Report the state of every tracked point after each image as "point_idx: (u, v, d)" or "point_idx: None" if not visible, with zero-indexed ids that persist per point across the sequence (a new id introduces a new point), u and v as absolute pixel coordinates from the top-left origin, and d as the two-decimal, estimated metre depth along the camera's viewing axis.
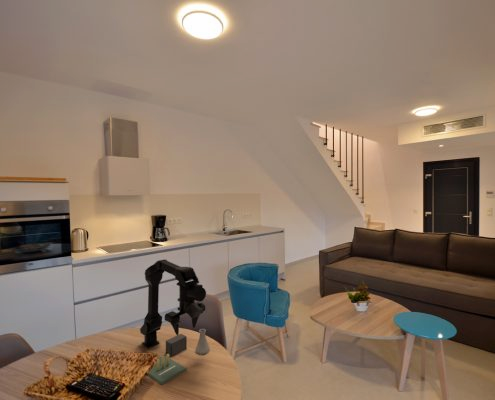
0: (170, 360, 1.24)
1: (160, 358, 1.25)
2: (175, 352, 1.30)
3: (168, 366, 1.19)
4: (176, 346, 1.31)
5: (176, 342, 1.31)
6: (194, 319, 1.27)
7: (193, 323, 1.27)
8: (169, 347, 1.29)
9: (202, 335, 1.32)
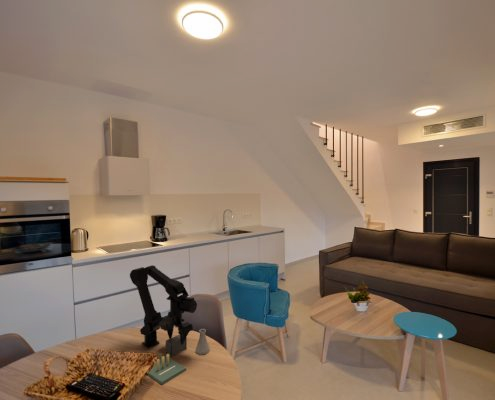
0: (170, 360, 1.24)
1: (160, 358, 1.25)
2: (175, 352, 1.30)
3: (168, 366, 1.19)
4: (176, 346, 1.31)
5: (176, 342, 1.31)
6: None
7: None
8: (169, 347, 1.29)
9: (202, 335, 1.32)
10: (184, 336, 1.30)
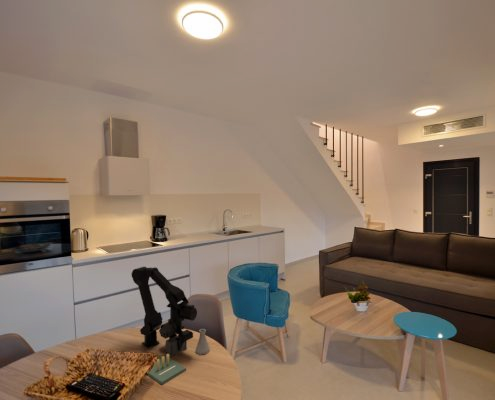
0: (170, 360, 1.24)
1: (160, 358, 1.25)
2: (175, 352, 1.30)
3: (168, 366, 1.19)
4: (176, 346, 1.31)
5: (176, 342, 1.31)
6: None
7: None
8: (169, 347, 1.29)
9: (202, 335, 1.32)
10: (181, 342, 1.32)
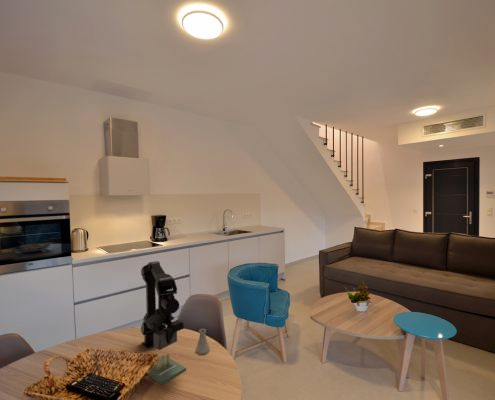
0: (170, 360, 1.24)
1: (160, 358, 1.25)
2: (164, 345, 1.17)
3: (168, 366, 1.19)
4: (165, 339, 1.17)
5: (165, 334, 1.17)
6: None
7: None
8: (157, 339, 1.16)
9: (202, 335, 1.32)
10: (171, 334, 1.18)
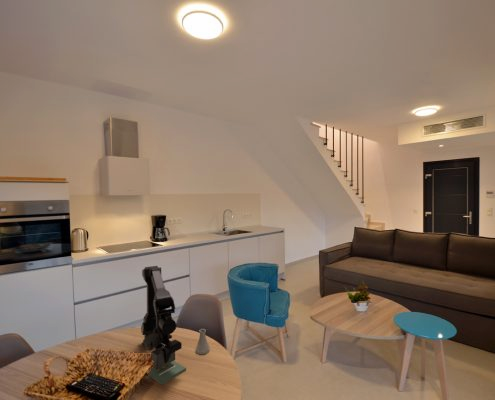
0: None
1: None
2: (161, 365, 1.15)
3: (168, 366, 1.19)
4: (163, 358, 1.16)
5: (163, 353, 1.16)
6: None
7: None
8: (155, 359, 1.14)
9: (202, 335, 1.32)
10: (168, 353, 1.17)
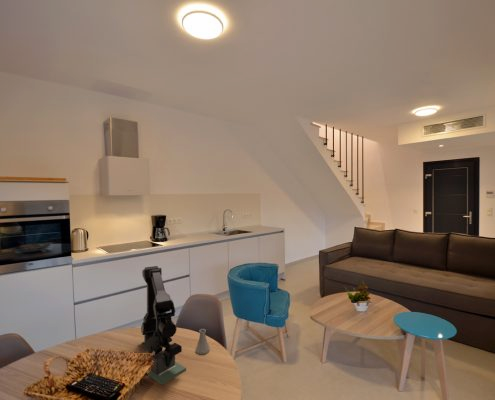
0: None
1: None
2: (161, 369, 1.15)
3: None
4: (163, 362, 1.16)
5: (163, 358, 1.16)
6: None
7: None
8: (155, 364, 1.14)
9: (202, 335, 1.32)
10: (170, 358, 1.16)
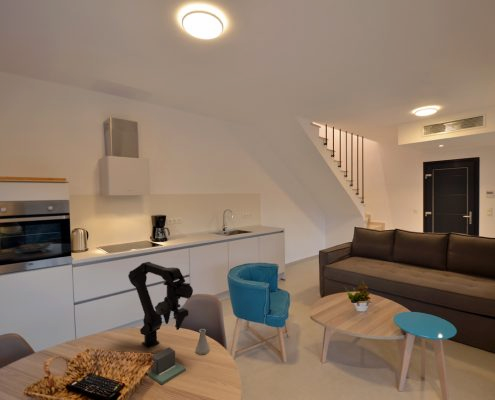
0: None
1: None
2: (161, 369, 1.15)
3: None
4: (163, 362, 1.16)
5: (163, 358, 1.16)
6: None
7: None
8: (155, 364, 1.14)
9: (202, 335, 1.32)
10: (180, 321, 1.30)
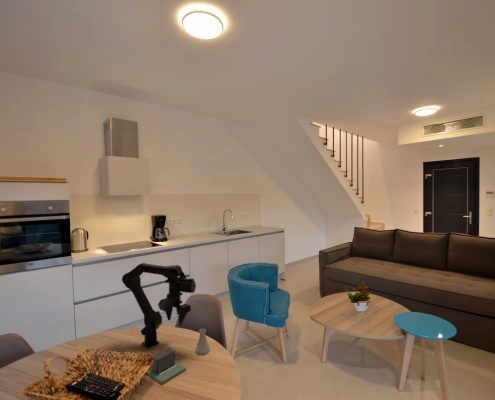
0: None
1: None
2: (161, 369, 1.15)
3: None
4: (163, 362, 1.16)
5: (163, 358, 1.16)
6: None
7: None
8: (155, 364, 1.14)
9: (202, 335, 1.32)
10: (182, 317, 1.34)
